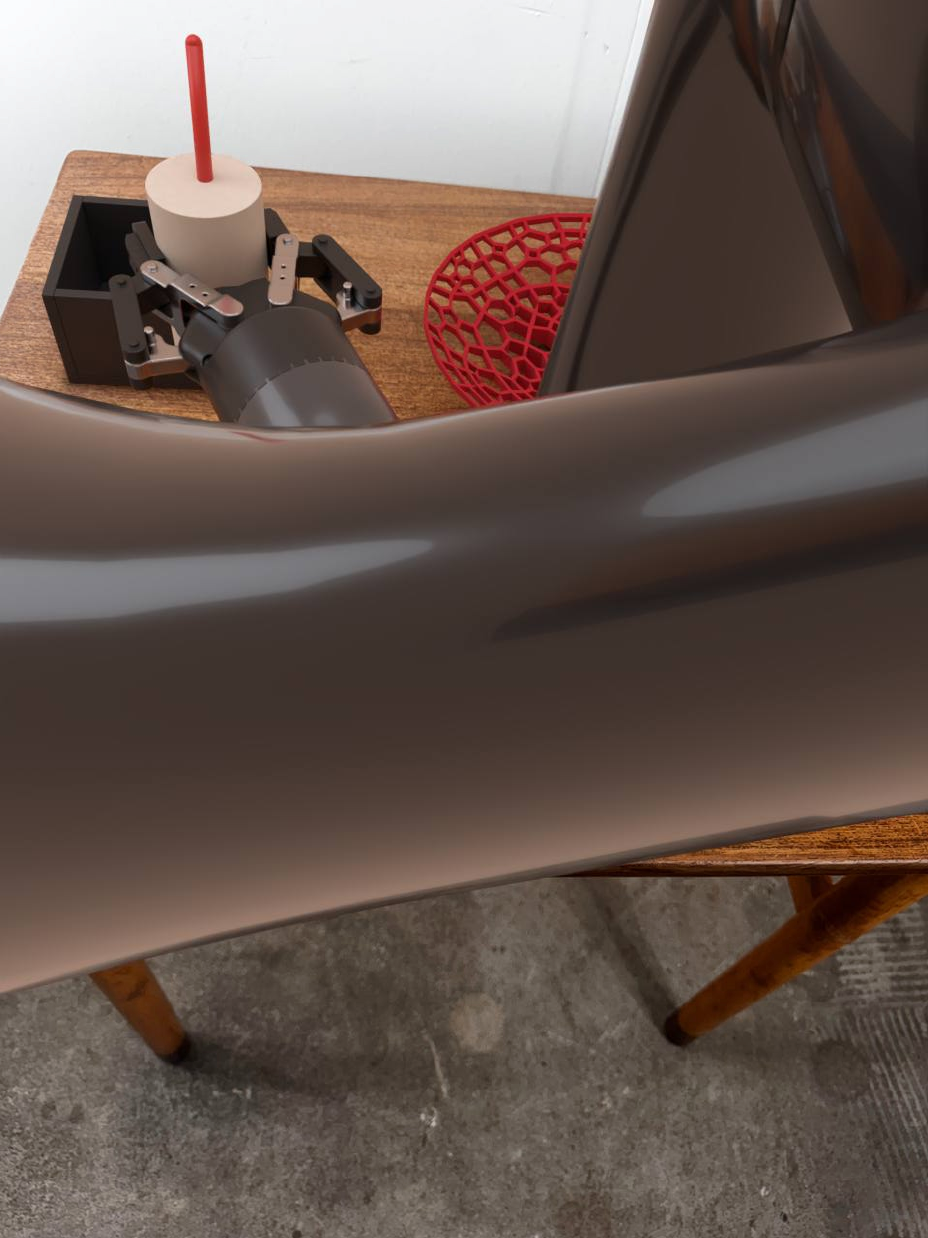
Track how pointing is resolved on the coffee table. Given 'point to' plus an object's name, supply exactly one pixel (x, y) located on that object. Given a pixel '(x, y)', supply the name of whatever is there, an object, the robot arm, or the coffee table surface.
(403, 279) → the coffee table surface
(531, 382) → the bowl
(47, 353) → the coffee table surface
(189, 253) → the paper cup
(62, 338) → the bin
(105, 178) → the coffee table surface
